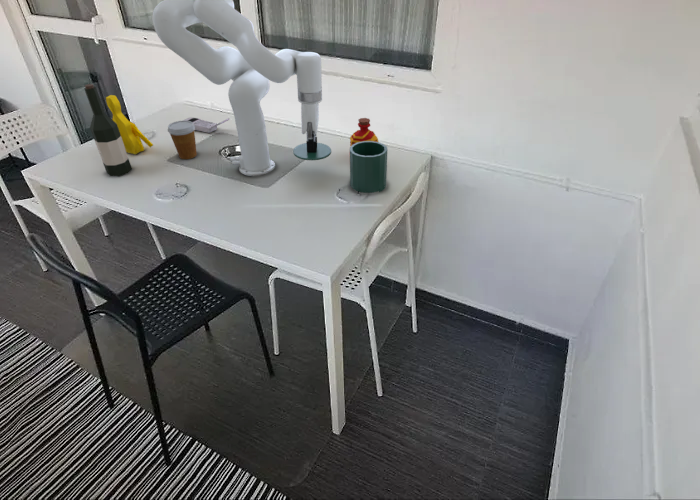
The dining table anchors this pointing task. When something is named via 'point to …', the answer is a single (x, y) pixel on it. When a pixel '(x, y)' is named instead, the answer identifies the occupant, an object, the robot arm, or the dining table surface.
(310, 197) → the dining table surface
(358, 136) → the potion bottle
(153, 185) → the dining table surface
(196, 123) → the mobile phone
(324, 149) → the green disc with handle
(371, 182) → the green tube
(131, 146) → the figure statuette
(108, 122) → the wine bottle
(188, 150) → the disposable coffee cup
